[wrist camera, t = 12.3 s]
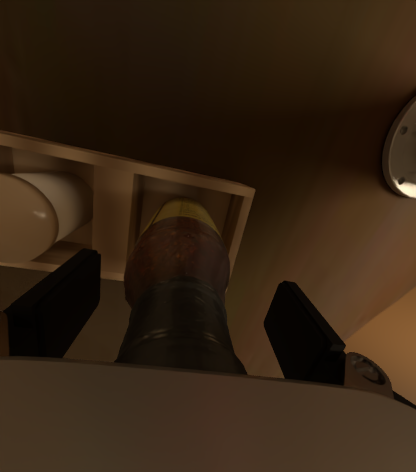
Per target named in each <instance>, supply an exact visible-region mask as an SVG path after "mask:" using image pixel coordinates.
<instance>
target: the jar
mask: <svg viewBox="0 0 416 472" xmlns="http://www.w3.org/2000/svg"><path fill="white" fill-rule="evenodd" d="M93 195H94V192H93V191H92V189H91V187H90V186H89V185H88V184H87V183H86V182H85V181H84V180H83V179H82V178H80V177H79V176H77V175H75V174H72V173H70V172H66V171H49V172H34V173H19V174H7V173H1V172H0V262H2V263H23V262H27V261H30V260H32V259H34V258H36V257H37V256H39V255H41V254H42V253H44V252H46V251H47V250H48V249H50V248H51V247H52V245H53V244H54V243H55V242H57V241H59V240H60V239H62V238H64V237H65V236H67V235H69V234H70V233H72V232H74V231H75V230H77V229H79V228H80V227H82V226H84V225H85V224H87V223H88V222H90V221H91V220H92V218H93Z"/></svg>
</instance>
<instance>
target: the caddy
mask: <svg viewBox="0 0 416 472" xmlns="http://www.w3.org/2000/svg"><path fill="white" fill-rule="evenodd" d="M49 171H66V172H70V173H72V174H75V175H77V176H79V177H80V178H82V179H83V180H84V181H85V182H86V183H87V184H88V185H89V186H90V187H91V189H92V191H93V192H94V195H93V218H92V220H91V221H90V222H88V223H87V224H85V225H84V226H82V227H80V228H79V229H77V230H75V231H74V232H72V233H70V234H69V235H67V236H65V237H64V238H62V239H60V240H59V241H57V242H55V243H54V244H53V245H52V247H51V248H50V249H48V250H47V251H46V252H44V253H42V254H41V255H39V256H37V257H36V258H34V259H32V260H30V261H27V262H23V263H2V262H0V265H3V266H10V267H18V268H26V269H34V270H42V271H49V272H53V271H54V270H56V269H57V268H58V267H60V266H61V265H62V264H63V263H65V262H66V261H67V260H69V259H70V258H71V257H72V256H74V255H75V254H76V253H78V252H79V251H80V250H81V249H83V248H86V249H92V250H97V252H98V253H99V254H101V278H104V279H112V280H120V281H124V272H125V268H126V263H127V261H128V259H129V256H130V255H131V253H132V252H133V250H134V247H135V245H136V242H137V240H138V239H139V237H140V236H141V234H142V232H143V231H144V229H145V228H146V226H147V225H148V223H149V222H150V220H151V219H152V217H153V216H154V214H155V213H156V211H157V210H158V208H159V207H160V206H161V205H163V204H164V203H165V202H166V201H168V200H170V199H173V198H179V197H188V198H190V199H193V200H195V201H198V202H199V203H200V204H202V205H203V206H204V208H205V209H206V210H207V212H208V214H209V215H210V218H211V219H212V221H213V223H214V224H215V226H216V228H217V230H218V232H219V234H220V236H221V238H222V240H223V243H224V245H225V247H226V250H227V253H228V256H229V260H230V277H231V273H232V270H233V266H234V263H235V259H236V256H237V252H238V249H239V245H240V242H241V239H242V235H243V232H244V228H245V225H246V221H247V218H248V214H249V211H250V207H251V204H252V201H253V197H254V194H255V190H256V189H254V188H251V187H249V186H246V185H244V184H242V183H238V182H234V181H229V180H225V179H220V178H216V177H211V176H207V175H202V174H198V173H193V172H189V171H184V170H180V169H175V168H171V167H166V166H162V165H157V164H153V163H148V162H144V161H139V160H135V159H130V158H125V157H121V156H116V155H112V154H107V153H103V152H98V151H94V150H89V149H85V148H80V147H76V146H71V145H67V144H62V143H58V142H53V141H49V140H44V139H40V138H35V137H31V136H26V135H22V134H17V133H13V132H8V131H2V130H0V172H1V173H7V174H19V173H34V172H49ZM229 280H230V279H229ZM227 287H228V286H227ZM226 290H227V289H226ZM225 294H226V292H225Z"/></svg>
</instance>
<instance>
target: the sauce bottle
mask: <svg viewBox="0 0 416 472" xmlns="http://www.w3.org/2000/svg"><path fill="white" fill-rule="evenodd" d="M229 279H230V260H229V256H228V253H227V250H226V247H225V245H224V243H223V240H222V238H221V236H220V234H219V232H218V230H217V228H216V226H215V224H214V223H213V221H212V219H211V218H210V215H209V214H208V212H207V210H206V209H205V208H204V206H203V205H202V204H200V203H199V202H198V201H195V200H193V199H190V198H188V197H179V198H173V199H170V200H168V201H166V202H165V203H164V204H163V205H161V206H160V207H159V208H158V210H157V211H156V213H155V214H154V216H153V217H152V219H151V220H150V222H149V223H148V225H147V226H146V228H145V229H144V231H143V232H142V234H141V236H140V237H139V239H138V240H137V242H136V245H135V247H134V250H133V252H132V253H131V255H130V256H129V259H128V261H127V263H126V268H125V272H124V286H125V295H126V296H125V299H126V300H127V302H128V304H129V305H130V307H131V308H132V310H131V314H130V318H129V326H128V329H127V332H126V334H125V337H124V340H123V343H122V345H121V347H120V350H119V354H118V357H117V359H116V360H115V361H114V362H115V363H126V364H137V365H149V366H160V367H171V368H181V369H192V370H202V371H213V372H223V373H234V374H244V375H247V372H246V370H245V368H244V365H243V364H242V363H241V361H240V360H239V359H238V358H237V356H236V355H235V353H234V349H233V346H232V342H231V338H230V335H229V330H228V326H227V314H226V309H225V306H224V305H225V292H226V289H227V286H228V283H229Z"/></svg>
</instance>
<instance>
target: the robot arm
mask: <svg viewBox="0 0 416 472" xmlns="http://www.w3.org/2000/svg"><path fill="white" fill-rule="evenodd" d="M382 168H383V174H384V177H385V179H386V182H387V184H388V185H389V186H390V188H391V189H392V190H393V191H395V192H396V193H397V194H399V195H401V196H404V197H408V198H414V199H416V96H415V97H413V98H412V99H411V100H410V101H409V102H408V104H407V105H406V106H405V107H404V108H403V109H402V110H401V112H400V113H399V115H398V116H397V118H396V119H395V121H394V123H393V125H392V126H391V128H390V130H389V132H388V135H387V138H386V141H385V144H384V149H383V154H382ZM100 278H101V254H99V253H98V252H97V250H92V249H86V248H83V249H81V250H80V251H79V252H78V253H76V254H75V255H74V256H72V257H71V258H70V259H69V260H67V261H66V262H65V263H63V264H62V265H61V266H60V267H58V268H57V269H56V270H54V271H53V272H52V273H51V274H49V275H48V276H47V277H45V278H44V279H43V280H42V281H40V282H39V283H38V284H36V285H35V286H34V287H33V288H31V289H30V290H29V291H27V292H26V293H25V294H24V295H22V296H21V297H20V298H18V299H17V300H16V301H15V302H13V303H12V304H11V305H10V306H9V307H8V308H6V309H5V310H4V311H3V312H2V311H0V472H416V405H414V404H413V403H411V402H410V401H408V400H406V399H405V398H404V397H402V396H400V395H399V394H397V393H396V392H394V391H393V390H392V386H391V382H390V380H389V378H388V376H387V375H386V373H385V372H384V371H383V370H382V369H381V368H380V367H379V366H378V365H377V364H375V363H374V362H373V361H372V360H370V359H368V358H367V357H365V356H363V355H361V354H358V353H355V352H349V353H347V354H345V352H344V351H343V350H344V348H345V346H346V345H345V343H344V342H343V341H342V340H341V339H340V337H339V336H338V335H337V334H336V332H335V331H334V330H333V329H332V327H331V326H330V325H329V324H328V322H327V321H326V320H325V319H324V317H323V316H322V315H321V314H320V313H319V311H318V310H317V309H316V308H315V306H314V305H313V304H312V303H311V301H310V300H309V299H308V298H307V296H306V295H305V294H304V293H303V291H302V290H301V289H300V288H299V287H298V285H297V284H296V283H295V282H289V281H283V282H282V283H280V284H279V285H278V288H277V290H276V293H275V295H274V298H273V300H272V303H271V305H270V308H269V310H268V313H267V315H266V318H265V320H264V328H265V330H266V333H267V335H268V338H269V340H270V343H271V345H272V348H273V350H274V353H275V355H276V358H277V360H278V362H279V365H280V367H281V370H282V372H283V375H284V377H285V379H283V378H273V377H263V376H254V375H244V374H234V373H223V372H213V371H202V370H192V369H181V368H171V367H160V366H149V365H137V364H126V363H115V362H104V361H92V360H78V359H64V358H63V356H64V355H65V353H66V352H67V350H68V349H69V347H70V346H71V344H72V343H73V341H74V340H75V338H76V337H77V335H78V334H79V332H80V331H81V330H82V328H83V327H84V325H85V324H86V322H87V321H88V319H89V318H90V316H91V315H92V313H93V312H94V310H95V309H96V307H97V306H98V304H99V300H100Z"/></svg>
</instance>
